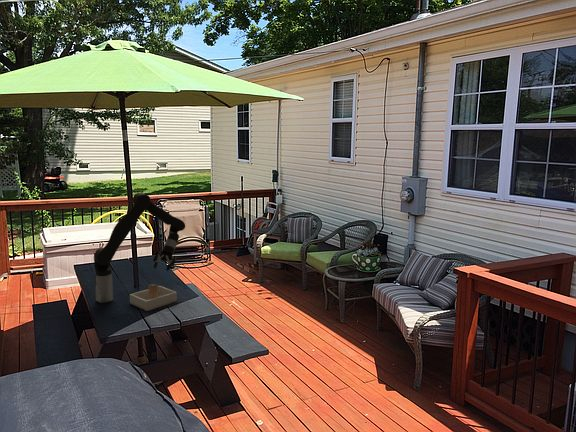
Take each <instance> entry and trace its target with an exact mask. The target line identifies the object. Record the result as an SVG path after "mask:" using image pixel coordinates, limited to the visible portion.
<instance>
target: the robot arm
mask: <svg viewBox="0 0 576 432" xmlns="http://www.w3.org/2000/svg"><path fill="white" fill-rule="evenodd" d="M132 202H133V206H132V207H131V208H130V210H129V211H128V212H127V213H126V214H125V215H123V216H122V217H121V218H120V219H119V220H118V222H116V224H115V226H114V227H113V229H112V231H111V234H110V236H109V239H108V242H107V243H106V244H105V246H104V247H101V248H98V249H96V251H94V253H93V262H94V263H93V264H94V270H95V278H96V279H95V280H96V285H95V286H94V287H95V300H96V301H97V302H98V303H100V304H103V303H104V304H105V303H110V302H112V301H114V290H113V287H114V286H113V273H112V272H113V271H112V268H111V262H112V260H113V258H114V256H115V255H116V253H117V251H118V249H119V248H120V246H121V245H122V244H123V242H124V241H125V239H126V237H127V236H128V235H129V234H130V232H131V231H132V229H133V228H134V226H135V225H136V223H137V222H138V220H139V219H140V217H141V216H142V214H144V212H145V211H147V212H149V213H150V214H151V215H153V216H154V217H155V218H157V219H158V220H159V221H161V222H162V223H164V224H165V225H167V226H169V230H168V231H169V232H168V236H167V238H166V241H165V242H164V245H163V247H162V249H161V253H158V252H156V253H155V255H154V257H153V258H152V261H153V262H154V264H153V269H154V270H156V269H157V267H158V265H159V263H162V262H166V263H167V266H166V269H165V270H166V272H169V271H170V269H171V266H172V267H173V266H175V264H176V261H177V256H176V255H174V253H175V250H176V248H177V244H178V241H179V239H180V235H179V234H178V232H182V231H183V230H185V229H186V223H185V222H184V221H183V220H182V219H180V218H178V217H176V216H174V215H172V214H171V213H169V212H168V211H167V210H164V209H163V208H162V207H160V206H158V205H156V204H155V203H153V202H152V199H151V197H150V196H149V195H148V194H147V193H143V192H137V193H135V194H134V195H133V196H132ZM171 260H172V261H171Z"/></svg>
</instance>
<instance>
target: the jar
mask: <svg viewBox="0 0 576 432" xmlns="http://www.w3.org/2000/svg"><path fill="white" fill-rule="evenodd" d="M158 286H159V285H158V284H157V283H150V284H149V285H148V289H149V300H151V299H154V298H157V297H158Z"/></svg>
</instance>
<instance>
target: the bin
mask: <svg viewBox="0 0 576 432" xmlns="http://www.w3.org/2000/svg"><path fill="white" fill-rule="evenodd" d="M175 302H178V292H177V291H175V290H172V289H170V288H167V287H164V286H163V285H158V297H157V298H154V299H151V300H149V288H148V289H145V290H139V291H136V292H134V293H131V294H129V304H131V305H133V306H135V307H137V308H139V309H141V310H144V311H146V312H147V311H152V310H154V309H157V308H160V307H163V306H166V305H169V304H172V303H173V304H174V303H175Z"/></svg>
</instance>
